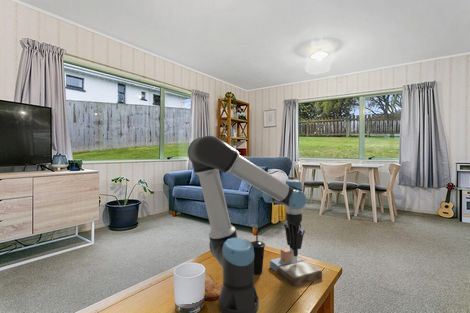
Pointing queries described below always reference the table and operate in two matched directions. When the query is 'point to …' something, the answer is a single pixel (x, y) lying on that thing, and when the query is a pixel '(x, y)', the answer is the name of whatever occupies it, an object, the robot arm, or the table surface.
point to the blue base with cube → (282, 259)
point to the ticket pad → (299, 273)
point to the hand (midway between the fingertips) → (294, 261)
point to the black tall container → (258, 255)
